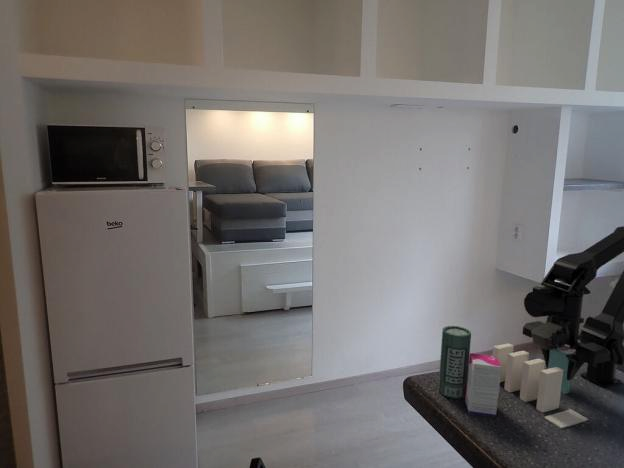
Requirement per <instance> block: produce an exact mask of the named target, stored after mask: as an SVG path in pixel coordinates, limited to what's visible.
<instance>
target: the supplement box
mask: <svg viewBox="0 0 624 468" xmlns="http://www.w3.org/2000/svg"><path fill="white" fill-rule="evenodd" d="M500 376H501V365H500V363H499V361H498V359H497V357H496V356H492V355H490V354H488V355H487V354H482V353H481V354H479V353H473V352H472V353H470V354H469V366H468V378H467V387H466V395H465V397H464V402H465V405H466V411H467V414H471V415H479V416H486V417H495V418H496V417H497V412H498V411H497V410H498V401H499V391H500V384H501V382H500Z"/></svg>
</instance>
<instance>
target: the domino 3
mask: <svg viewBox="0 0 624 468" xmlns="http://www.w3.org/2000/svg"><path fill="white" fill-rule="evenodd" d="M545 367H546V363H545V360H544V359H542V358H536V359H530V360H528V361H525V362H523V372H522V381H521V390H519V391H520V392H519V400H521V401H523V402H524V403H527V402H531V401H535V400H537V398H538V389H539V380H540V371H541V370H546V369H545Z"/></svg>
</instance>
